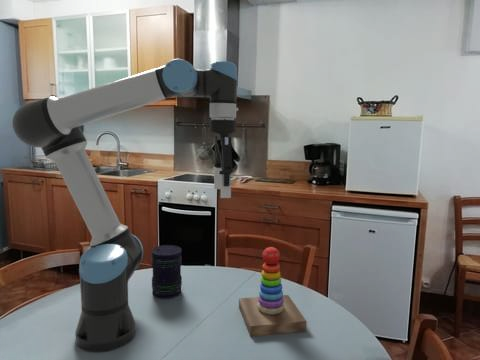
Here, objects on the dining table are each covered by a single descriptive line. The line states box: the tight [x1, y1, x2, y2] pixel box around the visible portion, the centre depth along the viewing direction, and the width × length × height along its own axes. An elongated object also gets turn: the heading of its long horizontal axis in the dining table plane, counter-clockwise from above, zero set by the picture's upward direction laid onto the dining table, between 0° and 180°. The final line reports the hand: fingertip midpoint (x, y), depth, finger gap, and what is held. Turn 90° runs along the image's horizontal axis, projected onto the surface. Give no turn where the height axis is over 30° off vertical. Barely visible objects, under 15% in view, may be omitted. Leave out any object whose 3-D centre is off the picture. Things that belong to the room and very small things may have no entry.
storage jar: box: [151, 244, 183, 300], centre depth 123 cm, size 10×10×15 cm
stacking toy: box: [257, 246, 284, 315], centre depth 107 cm, size 8×8×19 cm
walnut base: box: [238, 294, 308, 337], centre depth 108 cm, size 16×16×3 cm
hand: (221, 193), depth 107 cm, fingers open, 13 cm apart
